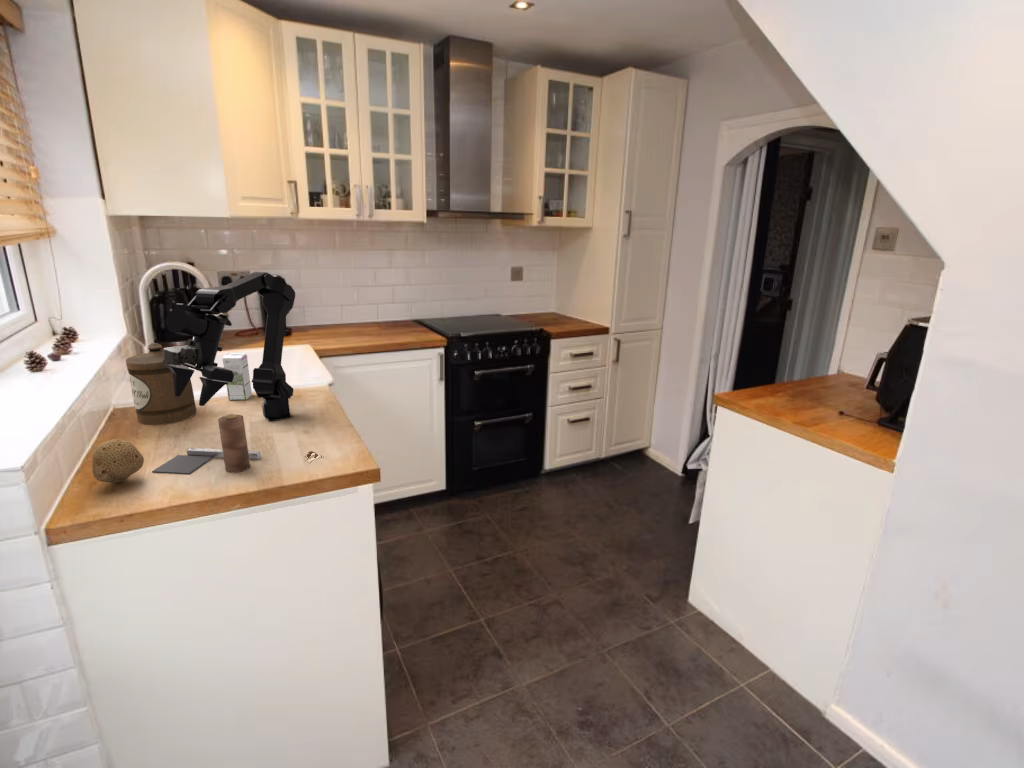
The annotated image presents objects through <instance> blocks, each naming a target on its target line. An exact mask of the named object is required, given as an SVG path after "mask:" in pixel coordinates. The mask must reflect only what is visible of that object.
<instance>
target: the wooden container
mask: <svg viewBox="0 0 1024 768" xmlns="http://www.w3.org/2000/svg"><path fill="white" fill-rule="evenodd" d="M147 348H148V350H149V351H148V352H145V353H140V354H136V355H133V356H130V357H127V358H126V359H125V364H126V369H127V372H128V377H129V383H130V388H131V394H132V399H133V403H134V408H135V413H136V418H137V421H138V423H140V424H143V425H150V426H151V425H153V426H155V425H156V426H158V425H168V424H174V423H178V422H182V421H185V420H187V419H191V417H193V416H194V415H196V413H197V408H196V407H197V405H196V401H195V395H194V389H193V384H192V380H191V378H190V380H189V382H188V384H187V385H186V387H185V389H184V391H183V392H182V394H181V395H180V396H179V397H178V396H175V392H174V380H173V373H172V372H171V370H170V369H169V368H168V367H166V365H169V364H167V363H165V362H163V360H164V351H163V349H162V348H163V347H162V345H161V343H160V344H159V343H157V342H152V343H150V344H148V346H147Z"/></svg>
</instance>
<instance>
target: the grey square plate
mask: <svg viewBox="0 0 1024 768" xmlns="http://www.w3.org/2000/svg"><path fill="white" fill-rule="evenodd" d="M213 458H214V457H211V456H190V455H187V454H186V455H185V454H177V455H176V456H175V457H172V458H171V459H168V460H167V461H166V462H165V463H163V464H161V465H160V466H158V467H156V468H155V469H153V470H152V471H151V473H156V474H157V473H158V474H159V473H160V474H174V475H175V474H177V475H178V474H179V475H191V474H192V473H193V472H195V471H196V470H198V469H199V468H200V467H202V466H204V465H205V464H206V463H208V462H209V461H210V460H212V459H213ZM207 461H208V462H207ZM203 464H204V465H203ZM190 473H191V474H190Z"/></svg>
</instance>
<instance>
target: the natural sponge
mask: <svg viewBox="0 0 1024 768" xmlns="http://www.w3.org/2000/svg"><path fill="white" fill-rule="evenodd" d="M91 463H92V465H91V466H92V469H91V470H92V476H93V477H94V479H96V481H98V482H103V483H111V484H120V483H123V482H125V481H126V480H128V478H130V477H131V476H133V475H134V474H135V473H137V472H138V471H139V470H141V469H142V468H143V466H144V463H145V459H144V456H143V454H142V453H141V452H140V451H139V450H138V448H137V447H136V446H135V445H134V444H133V443H131V442H130V441H127V440H125V439H122V438H121V439H120V438H114V439H111V440H107V441H103V442H101V443H100V444H99V445H97V447H96V448H95V450H94V452H93V454H92V462H91Z"/></svg>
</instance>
